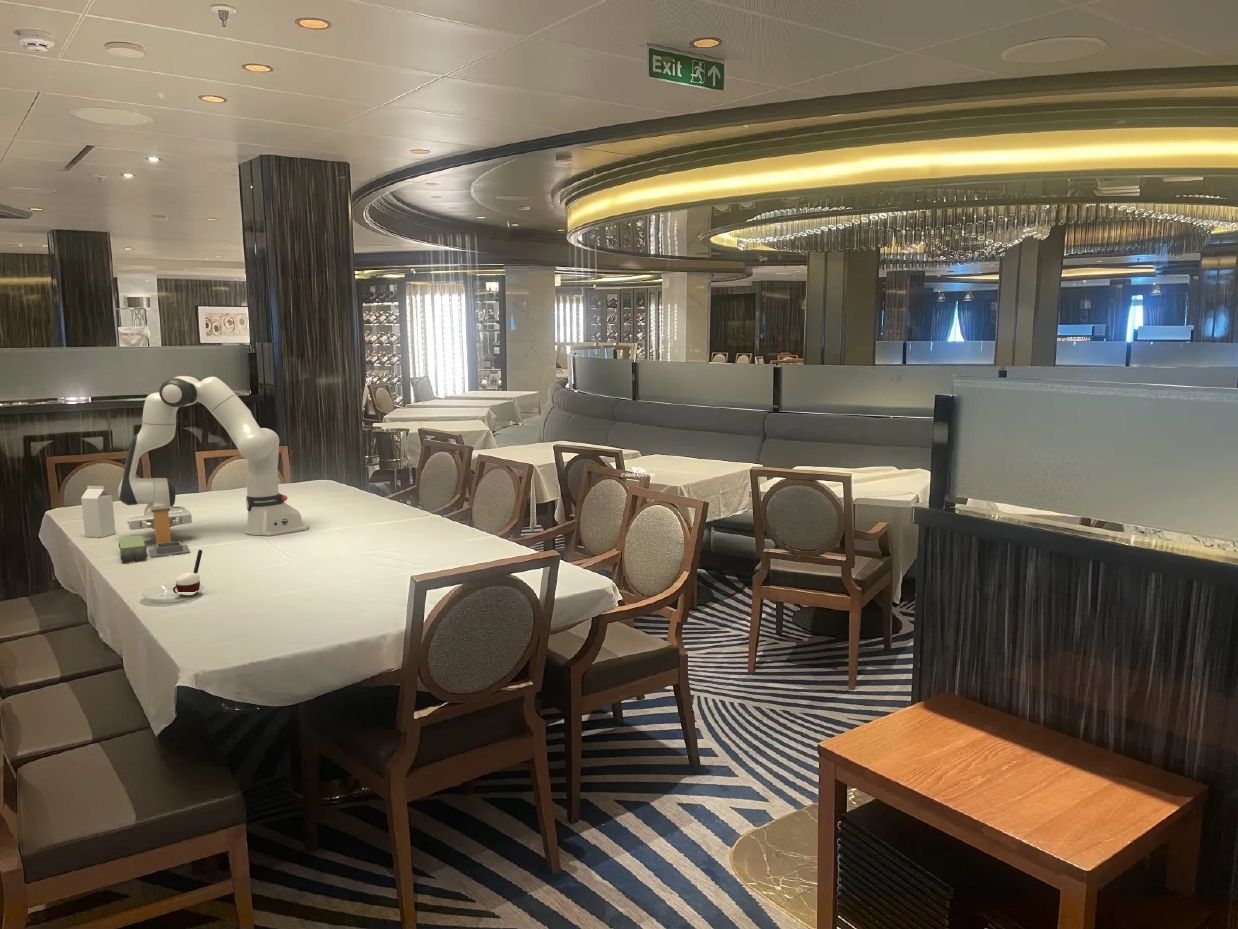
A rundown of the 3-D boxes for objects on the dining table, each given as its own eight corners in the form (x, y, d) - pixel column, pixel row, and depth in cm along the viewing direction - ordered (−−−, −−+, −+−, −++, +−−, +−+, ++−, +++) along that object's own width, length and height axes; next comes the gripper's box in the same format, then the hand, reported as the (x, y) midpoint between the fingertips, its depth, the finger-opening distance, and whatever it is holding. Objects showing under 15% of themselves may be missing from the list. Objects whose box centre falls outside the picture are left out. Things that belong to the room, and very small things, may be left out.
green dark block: (144, 548, 305) (143, 534, 304) (148, 560, 287) (146, 546, 287) (119, 551, 301) (117, 537, 300) (121, 564, 283) (119, 549, 283)
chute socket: (186, 546, 307) (186, 538, 307) (190, 553, 297) (189, 545, 296) (148, 550, 301) (148, 543, 300) (150, 558, 291) (150, 550, 290)
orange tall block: (172, 543, 312) (168, 505, 309) (173, 546, 307) (170, 507, 305) (154, 545, 309) (150, 507, 306) (155, 548, 304) (151, 509, 302)
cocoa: (175, 601, 245) (169, 560, 242) (170, 595, 250) (165, 555, 247) (211, 593, 250) (206, 553, 248) (206, 587, 255) (201, 548, 253)
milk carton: (101, 538, 321) (96, 487, 318) (85, 537, 322) (79, 487, 319) (116, 533, 328) (111, 484, 325) (99, 533, 329) (94, 484, 326)
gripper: (126, 512, 311) (127, 519, 300) (188, 506, 322) (192, 512, 310) (127, 529, 312) (129, 536, 301) (190, 522, 323) (194, 529, 311)
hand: (162, 524), depth 306 cm, fingers open, 7 cm apart
